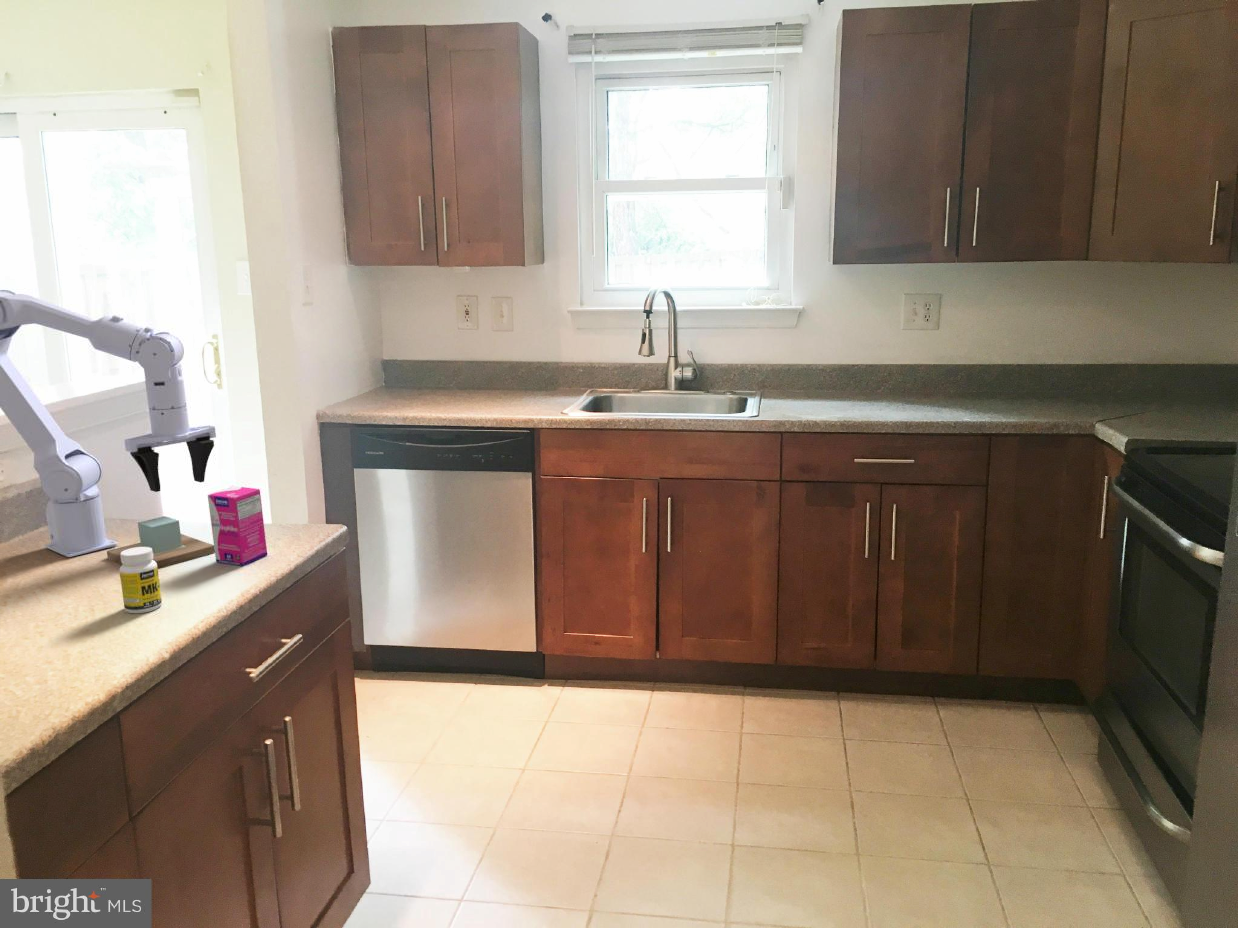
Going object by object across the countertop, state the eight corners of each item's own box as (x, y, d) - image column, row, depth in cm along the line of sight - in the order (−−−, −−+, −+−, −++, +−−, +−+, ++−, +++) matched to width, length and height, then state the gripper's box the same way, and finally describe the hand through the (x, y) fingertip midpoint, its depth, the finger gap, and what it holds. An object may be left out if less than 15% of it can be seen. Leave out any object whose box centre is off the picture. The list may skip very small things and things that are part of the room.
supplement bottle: (147, 615, 129) (138, 557, 127) (117, 613, 130) (108, 555, 128) (169, 602, 134) (162, 546, 132) (140, 600, 135) (132, 544, 133)
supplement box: (214, 563, 151) (205, 494, 148) (241, 551, 156) (233, 485, 153) (242, 567, 148) (234, 497, 146) (269, 555, 154) (261, 487, 151)
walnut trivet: (107, 557, 154) (106, 550, 154) (179, 539, 163) (178, 532, 163) (142, 572, 147) (141, 564, 146) (215, 552, 156) (214, 544, 155)
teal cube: (141, 548, 154) (137, 522, 153) (168, 541, 157) (164, 516, 156) (155, 553, 151) (151, 527, 150) (182, 546, 155) (178, 520, 154)
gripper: (135, 415, 148) (146, 498, 152) (221, 402, 160) (230, 480, 163) (114, 411, 153) (125, 492, 156) (199, 399, 164) (209, 474, 167)
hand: (177, 485), depth 160 cm, fingers open, 7 cm apart
